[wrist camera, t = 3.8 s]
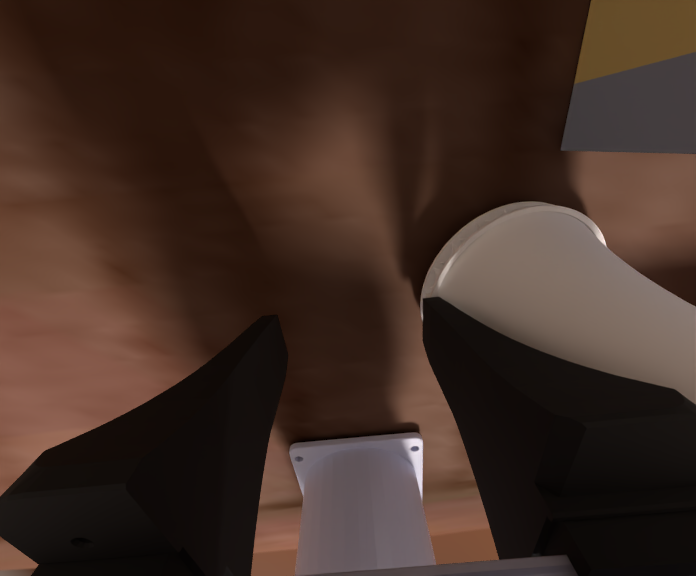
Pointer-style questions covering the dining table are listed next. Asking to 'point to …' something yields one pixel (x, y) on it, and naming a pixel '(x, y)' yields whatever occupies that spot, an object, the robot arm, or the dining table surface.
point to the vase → (566, 294)
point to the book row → (635, 79)
